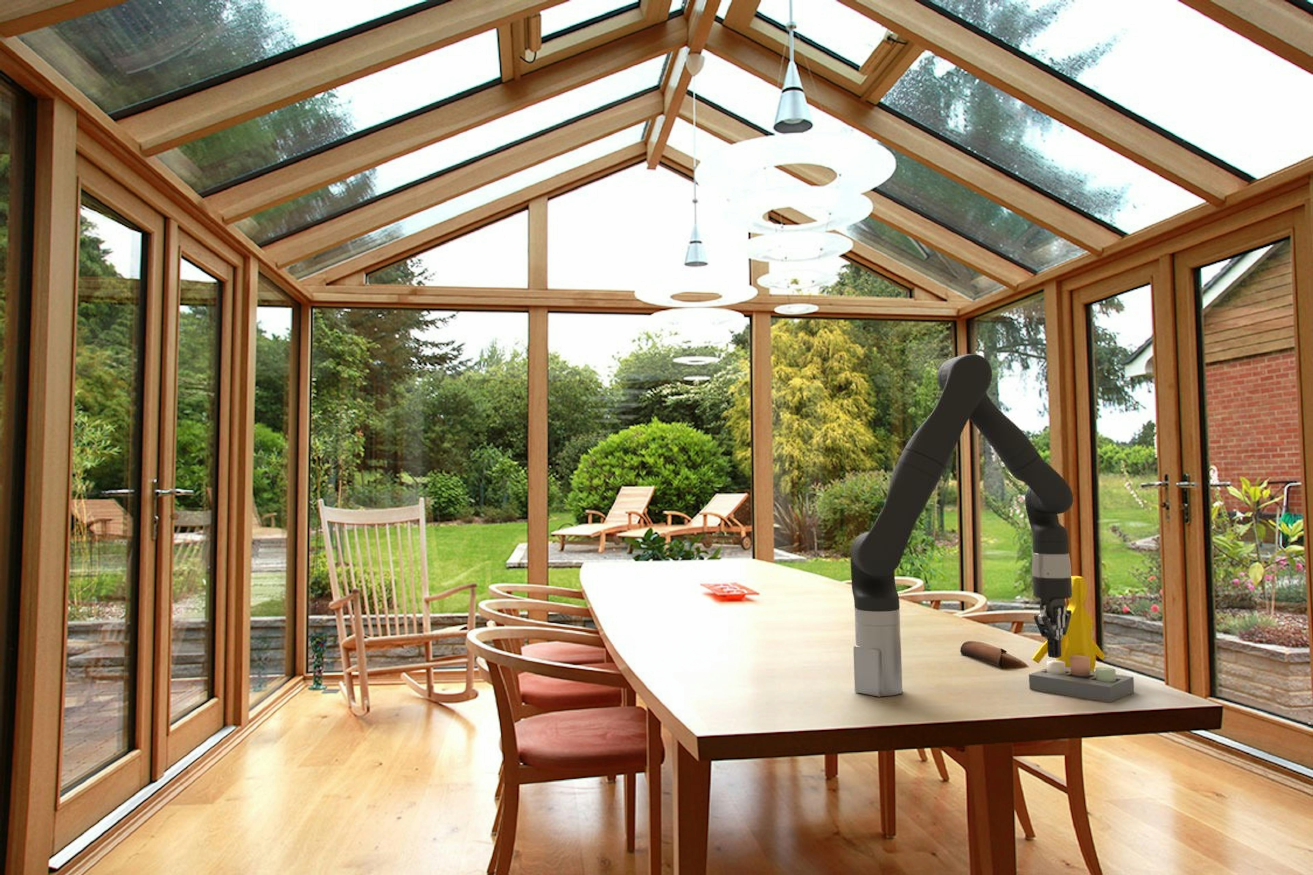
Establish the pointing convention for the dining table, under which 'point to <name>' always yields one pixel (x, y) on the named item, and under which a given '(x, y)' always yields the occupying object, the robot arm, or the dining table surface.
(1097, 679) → the sage button
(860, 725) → the dining table surface
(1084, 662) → the terracotta button
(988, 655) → the sunglasses case
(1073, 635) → the figure statuette
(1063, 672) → the ivory button
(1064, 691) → the button box
